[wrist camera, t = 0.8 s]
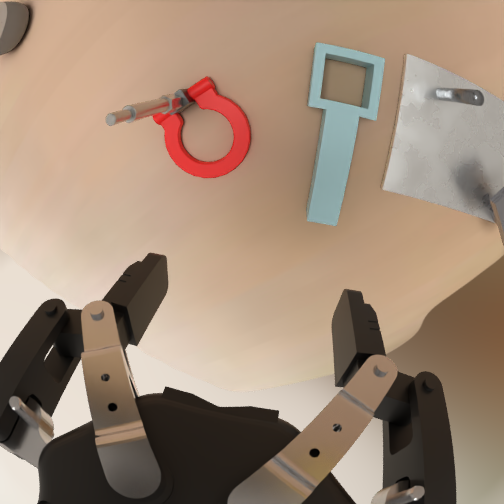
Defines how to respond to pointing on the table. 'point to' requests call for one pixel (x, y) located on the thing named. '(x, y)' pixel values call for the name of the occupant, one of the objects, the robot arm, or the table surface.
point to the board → (445, 142)
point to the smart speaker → (12, 24)
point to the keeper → (498, 211)
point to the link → (338, 130)
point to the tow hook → (172, 122)
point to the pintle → (461, 96)
